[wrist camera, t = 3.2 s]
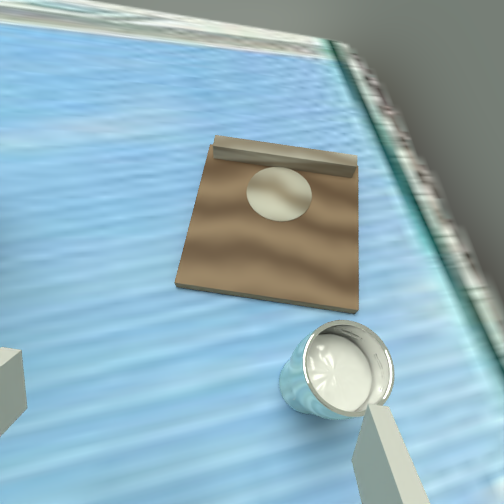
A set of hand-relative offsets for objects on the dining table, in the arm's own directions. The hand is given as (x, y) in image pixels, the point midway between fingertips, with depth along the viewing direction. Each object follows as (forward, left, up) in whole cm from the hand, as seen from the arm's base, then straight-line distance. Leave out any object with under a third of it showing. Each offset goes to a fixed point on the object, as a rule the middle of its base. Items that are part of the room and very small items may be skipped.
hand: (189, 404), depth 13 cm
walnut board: (+19, +14, -25) cm, 35 cm away
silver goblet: (+9, -4, -25) cm, 27 cm away
